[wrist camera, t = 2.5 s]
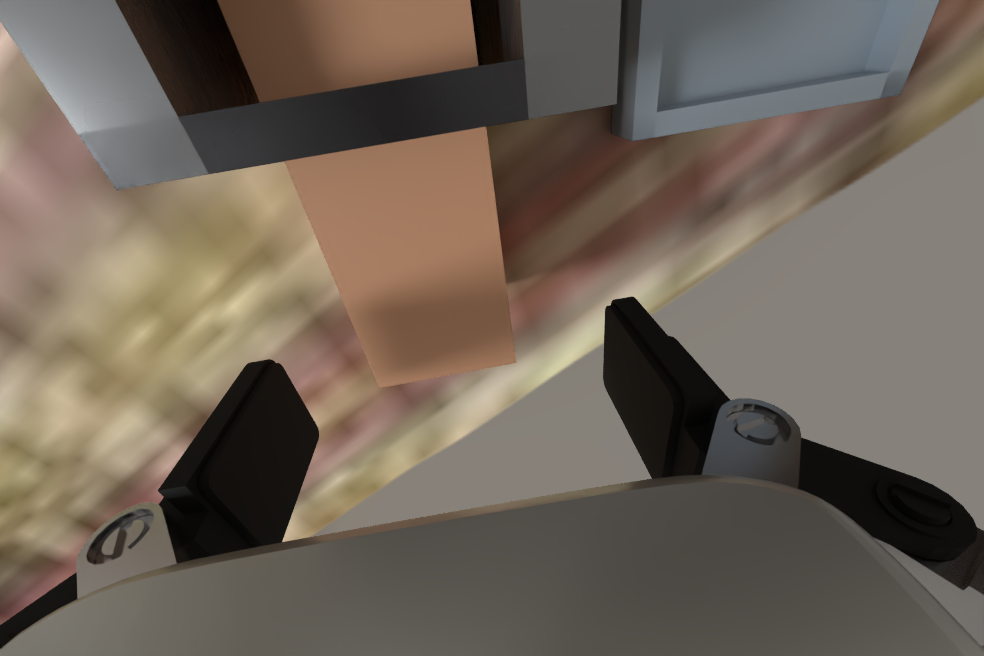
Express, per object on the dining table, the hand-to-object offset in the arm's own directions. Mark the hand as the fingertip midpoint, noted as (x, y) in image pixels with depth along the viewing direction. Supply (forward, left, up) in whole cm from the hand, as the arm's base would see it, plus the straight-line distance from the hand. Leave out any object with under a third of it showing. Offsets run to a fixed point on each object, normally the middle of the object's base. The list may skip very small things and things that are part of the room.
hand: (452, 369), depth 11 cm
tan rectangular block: (-5, 0, -8) cm, 9 cm away
